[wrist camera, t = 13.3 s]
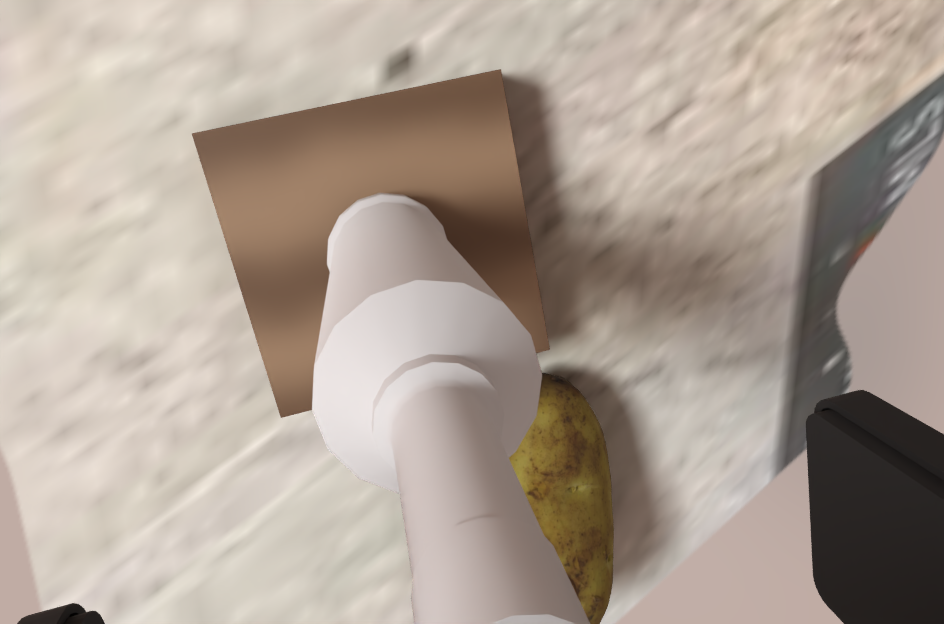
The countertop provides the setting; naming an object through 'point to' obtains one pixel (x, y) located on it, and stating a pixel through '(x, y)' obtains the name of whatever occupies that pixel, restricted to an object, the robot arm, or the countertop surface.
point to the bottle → (436, 414)
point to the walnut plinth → (358, 176)
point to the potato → (571, 489)
